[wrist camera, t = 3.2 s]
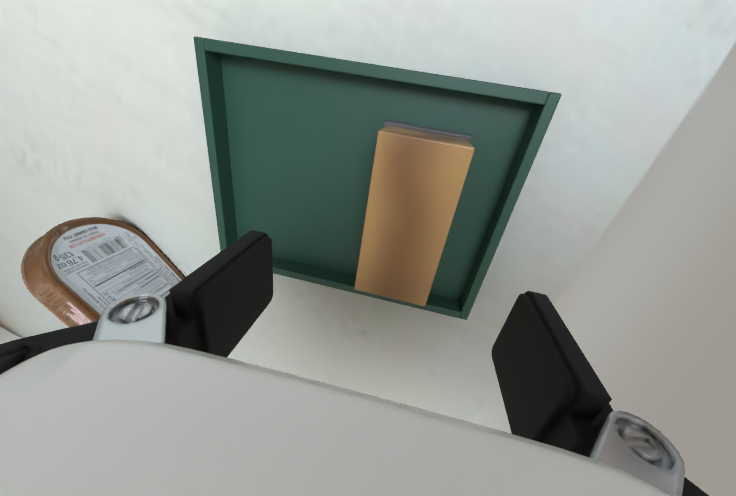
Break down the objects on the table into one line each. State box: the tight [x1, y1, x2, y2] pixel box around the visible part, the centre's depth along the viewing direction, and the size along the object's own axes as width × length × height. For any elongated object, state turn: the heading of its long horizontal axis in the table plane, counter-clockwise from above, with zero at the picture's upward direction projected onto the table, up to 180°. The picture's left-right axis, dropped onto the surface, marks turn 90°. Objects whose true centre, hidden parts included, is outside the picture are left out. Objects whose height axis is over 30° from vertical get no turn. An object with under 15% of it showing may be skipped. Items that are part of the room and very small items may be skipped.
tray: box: [194, 37, 561, 320], centre depth 20 cm, size 20×15×2 cm
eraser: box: [355, 120, 475, 306], centre depth 18 cm, size 5×10×5 cm, turn 172°
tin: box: [21, 217, 184, 327], centre depth 24 cm, size 15×3×8 cm, turn 32°
